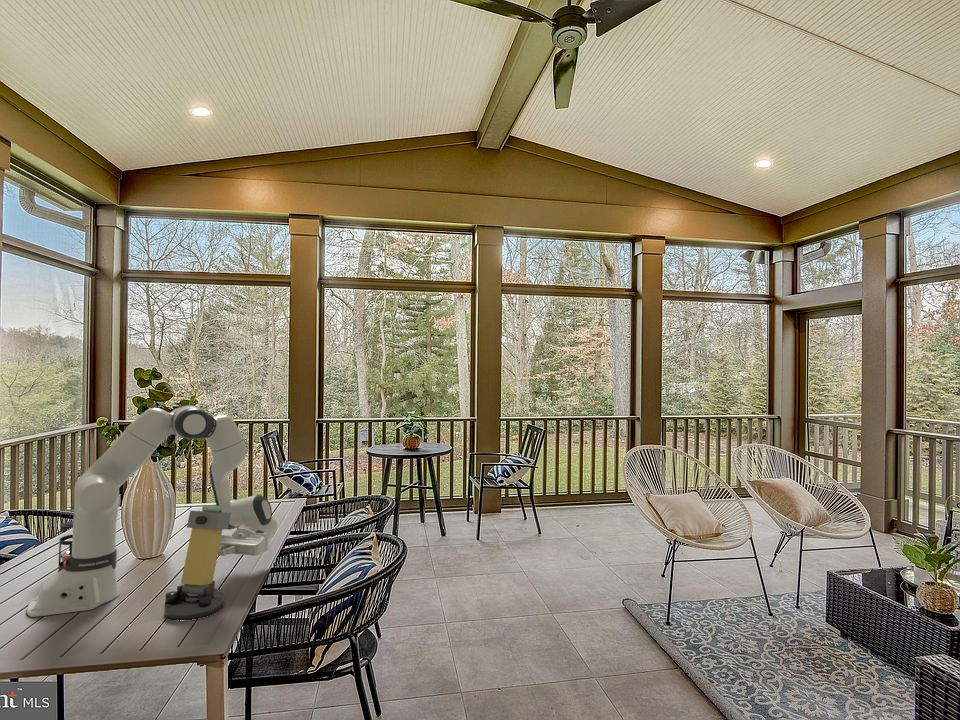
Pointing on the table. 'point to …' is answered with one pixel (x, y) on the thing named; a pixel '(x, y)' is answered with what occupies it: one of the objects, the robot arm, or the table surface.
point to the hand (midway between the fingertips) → (219, 553)
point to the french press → (65, 527)
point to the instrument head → (203, 548)
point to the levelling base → (193, 603)
